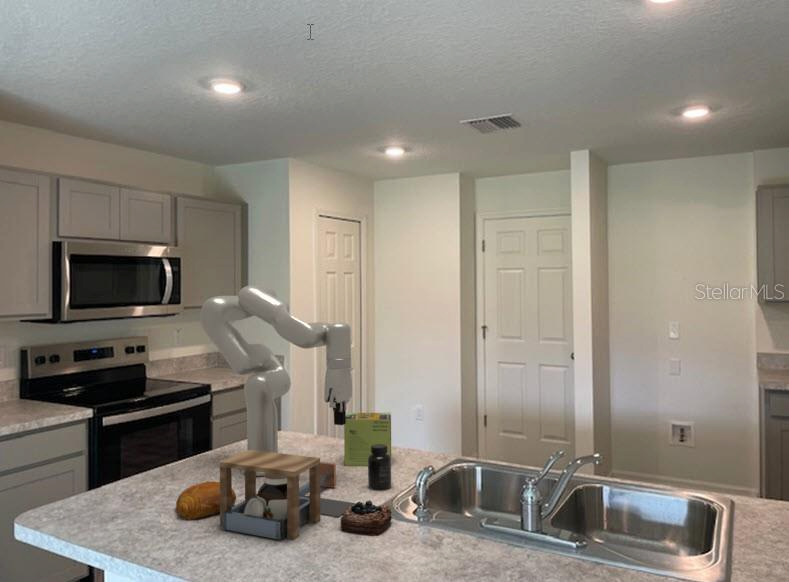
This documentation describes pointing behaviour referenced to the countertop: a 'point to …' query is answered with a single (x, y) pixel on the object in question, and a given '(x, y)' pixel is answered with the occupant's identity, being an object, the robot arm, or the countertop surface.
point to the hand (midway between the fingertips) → (339, 424)
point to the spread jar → (270, 498)
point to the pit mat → (333, 507)
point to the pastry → (366, 518)
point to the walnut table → (279, 466)
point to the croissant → (200, 500)
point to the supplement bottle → (379, 468)
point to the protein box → (365, 436)
